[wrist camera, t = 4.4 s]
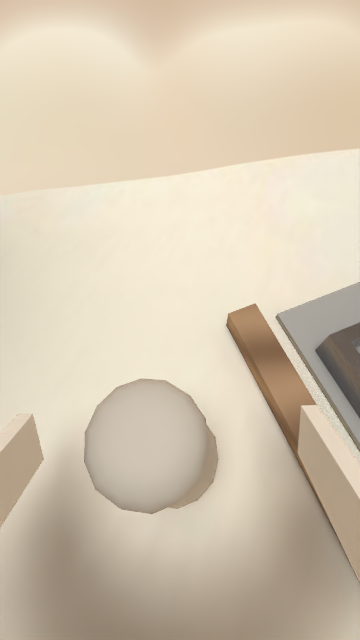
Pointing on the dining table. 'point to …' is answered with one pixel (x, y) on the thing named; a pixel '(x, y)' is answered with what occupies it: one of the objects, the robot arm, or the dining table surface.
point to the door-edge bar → (271, 372)
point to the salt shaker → (150, 447)
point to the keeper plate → (331, 349)
